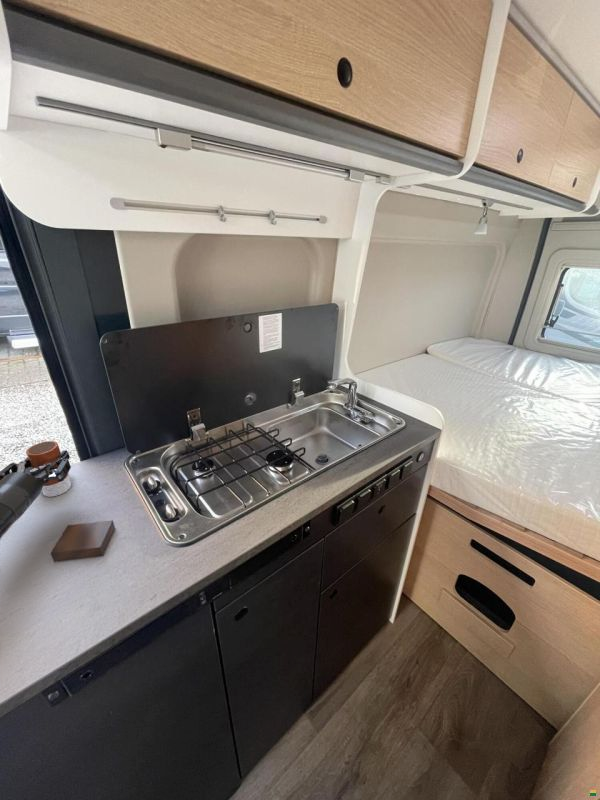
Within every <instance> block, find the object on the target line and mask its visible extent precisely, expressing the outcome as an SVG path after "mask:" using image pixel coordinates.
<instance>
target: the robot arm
mask: <svg viewBox="0 0 600 800" xmlns="http://www.w3.org/2000/svg"><path fill="white" fill-rule="evenodd" d="M60 452H61V453H60V455H59V456H58V457H57V458H56V459H55V460H53V461H51V462H46V463H44V464H42V465H41V466H39V467H31V464H30V462H29V459H28V457H27V456H26V458H25V459H24V460H21V461H18V463H16V462H11V463H9V464H7V465H6V466H5V467H4V468H2V469H1V470H0V541H1V540H2V538H3V537H4V536H5V535H6V533H7V532H8V531H9V529H11V527H13V525H14V524H15V523H16V522H17V521H19V519H20V518H21V517H22V516H23V515H24V514H25V513H26V511H27V510H28V509H29V508H30V507H31V505H32V504H34V502H35V500H36V499H37V498H38V497H39V496H40V494H41V492H42V487H43V485H45V484H46V483H48V482H49V481H50V480H55V479H57V481H58V482H62V481H63V480H64V479H65V477H66V475H67V474H68V472H70V470H71V468H72V467H71V463H70V458H71V455H70V453H69V451H68V449H64V450H62V451H60ZM55 464H57V467H55V468H54V465H55ZM46 468H48V471H49V473H48V472H47V470H46Z"/></svg>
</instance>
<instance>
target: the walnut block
mask: <svg viewBox="0 0 600 800" xmlns="http://www.w3.org/2000/svg"><path fill="white" fill-rule="evenodd" d="M115 531H116V527H115V522H114V520H104V521H94V522H84V523H75V524H67V526H66V528H65V529H64V530H63V532H62V533H61V535H60V536H59V539H58V540H57V542H56V543H55V545H54V546H53V548H52V550H51V552H50V555H51V558H52V561H53V562H54V563H58V562H65V561H75V560H83V559H91V558H98V557H99V558H100V557H104V555H105V554H106V551H107V549H108V547H109V544H110V542H111V539H112V538H113V535H114V533H115Z"/></svg>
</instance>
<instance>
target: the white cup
mask: <svg viewBox="0 0 600 800" xmlns="http://www.w3.org/2000/svg"><path fill="white" fill-rule="evenodd" d="M69 472H70V471H69ZM69 472H68V476H67V477H66V478H65V479H64V480H63V481H62V482H59V483H57V484H54V485H50V486H43V487H42V490H41V492H42V493H43V496H45V497H49V498H50V497H51V498H52V497H57V496H60V495H63V494H65V493H66V492H67V491H69V490H70V489H71V487H72V482H71V478H70V473H69Z"/></svg>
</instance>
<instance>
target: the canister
mask: <svg viewBox="0 0 600 800" xmlns="http://www.w3.org/2000/svg"><path fill="white" fill-rule="evenodd" d="M61 452H62V451H61V449H60V446H59V443H58V442H57V441H53V440H48V441H41V442H38V443H36V444H33V445H31V446H29V447H28V448H27V449H26V451H25V454H26V458H27V457H28V459H29V462H30V464H31V467H39V466H41V465H42V464H44V463H46V462H51V461H53V460H55V459H56V458H57V457H58V456H59V455H60V453H61ZM55 467H57V464H55V465H54V468H55ZM46 470H47V472H48V473H49V471H48V468H46ZM67 476H68V474H67V475H66V477H67ZM66 477H65V478H66ZM57 483H59V482H58V481H57V479H55V480H50V481H49V482H48V483H46V484H45V485H43V486H50V485H54V484H57Z"/></svg>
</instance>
